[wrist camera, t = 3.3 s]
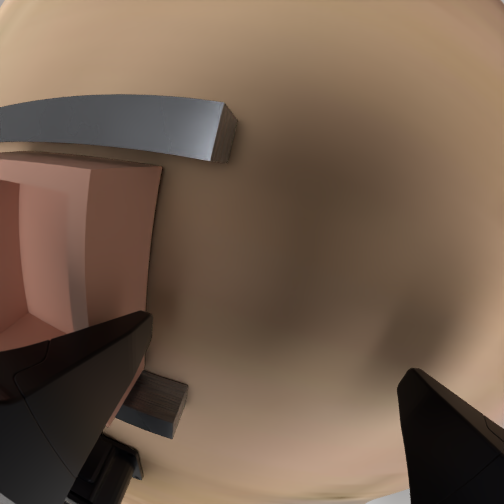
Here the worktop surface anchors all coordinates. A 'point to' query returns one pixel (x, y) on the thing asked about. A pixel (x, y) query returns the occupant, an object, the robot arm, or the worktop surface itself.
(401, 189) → the worktop surface
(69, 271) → the crate
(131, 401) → the crate bay
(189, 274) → the worktop surface
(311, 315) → the worktop surface
